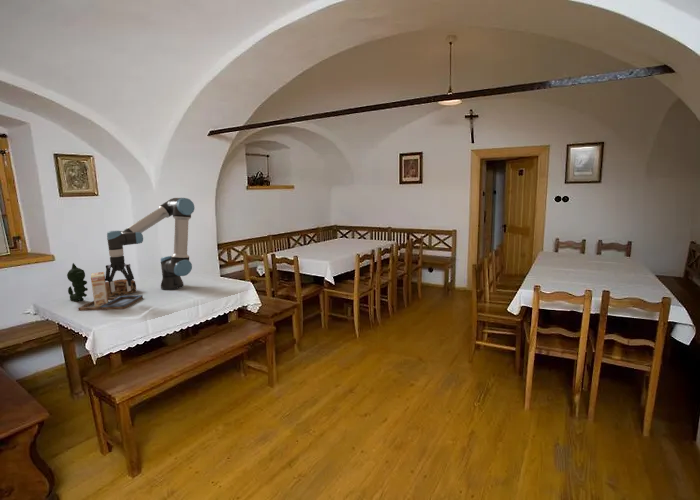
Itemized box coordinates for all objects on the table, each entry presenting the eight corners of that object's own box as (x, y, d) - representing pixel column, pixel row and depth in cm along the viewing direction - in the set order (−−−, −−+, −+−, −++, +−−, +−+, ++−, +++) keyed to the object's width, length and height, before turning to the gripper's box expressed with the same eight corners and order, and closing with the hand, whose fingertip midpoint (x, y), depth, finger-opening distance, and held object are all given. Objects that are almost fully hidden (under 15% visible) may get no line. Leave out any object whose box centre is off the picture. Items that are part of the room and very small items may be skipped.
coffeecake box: (108, 306, 234) (104, 275, 231) (94, 308, 230) (90, 277, 227) (108, 300, 246) (104, 271, 243) (95, 302, 243) (91, 273, 240)
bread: (106, 298, 252) (104, 283, 251) (102, 295, 260) (100, 281, 258) (137, 292, 266) (135, 278, 264) (132, 290, 273) (130, 276, 271)
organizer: (143, 298, 250) (142, 295, 250) (124, 308, 228) (124, 305, 228) (100, 299, 249) (100, 296, 249) (78, 310, 227) (77, 307, 227)
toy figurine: (76, 304, 240) (71, 265, 236) (62, 300, 249) (56, 263, 245) (92, 300, 248) (87, 262, 244) (78, 296, 257) (73, 260, 253)
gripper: (137, 254, 238) (142, 289, 242) (102, 255, 237) (106, 290, 241) (131, 256, 231) (135, 292, 234) (94, 257, 230) (99, 293, 233)
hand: (121, 291), depth 237 cm, fingers open, 9 cm apart
